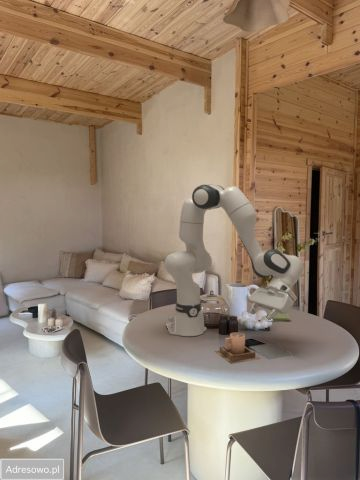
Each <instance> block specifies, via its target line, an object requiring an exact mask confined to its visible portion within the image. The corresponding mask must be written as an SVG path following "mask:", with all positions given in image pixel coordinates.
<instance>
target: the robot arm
mask: <svg viewBox="0 0 360 480" xmlns="http://www.w3.org/2000/svg"><path fill="white" fill-rule="evenodd" d="M219 208H222V209H223V210H224V211H225V213H226V215H227V216H228V218H229V220H230V222H231V223H232V225H233V227H234V229H235V230H236V233H237V235H238V237H239V240H240V241H241V243H242V245H243V247H244V249H245V251H246V253H247V255H248V257H249V260H250V263H251V268H252V271H253V273H254V274H255V275H256V276H257V277H259V278H262V279H268V278H271V276H272V278H271V280H270V282H269V283H268V284H267V285H266V286H265V285H262V286H260V287H257V288H256V289H255V290H254V291H253V292H252V294H250V295H249V297H248V301H249V302H250V303H251V308H250V310H249V313H250V314H251V315H255V313H256V312H257V311H256V310H257V308H258V307H260V308H263V309H266V310H269V311H272V312H271V313H270V314H267V316H266V318H267V319H268V320H271V319H272V317H274V316H276V315H277V314H278V313H281V314H284V315H285V314H288V313H289V312H290V311H291V309H292V307H293V306H294V302H296V300H297V299H298V297H297V296H296V294H295V293H294V292H293V287H294V285H296V283H297V282H298V281H299V279H300V277H301V276H302V273H303V272H304V268H305V267H304V262H303V261H302V259H300V258H299V257H298V256H297V255H294V254H293V255H292V254H290V255H289V254H286V253H283V252H282V251H280V250H279V249H275V248H270V249H268V250H266V251H263V250H262V247H261V246H260V244H259V242H258V240H257V238H256V235H255V234H256V233H255V228H256V224H257V219H258V216H257V213H256V211H255V208H254V207H253V205H252V203H251V202H250V200H249V199H248V198H247V196H246V194H244V193H243V191H242V190H241V189H240V188H239V187H238V186H235V185H232V186H228V187H227V188H224V187H223V186H221V185H217V184H214V183H213V184H212V183H210V184H201V185H198V186H197V187H196V188H195V189H194V190H193V192H192V194H191V197H190V198H189V197H188V198H186V199H185V200H184V201H183V203H182V207H181V212H180V218H179V230H178V231H179V232H178V237H179V240H180V241H181V242H183V243H184V244H185V250H183V251H175V252H172V253H170V254H168V255H166V257H165V260H164V262H163V263H164V269H165V270H166V271H165V272H167V274H169V276H171V278H172V279H173V280H174V283H175V286H176V302H175V308H174V309H175V310H174V311H173V312H172V313H171V314H170V316H169V317H168V322H166V323H165V326H167V327H166V328H168V329H167V330H168V333H169V335H172V336H174V335H175V336H180V337H181V336H182V337H195V336H200V335H202V334H204V332H206V331H207V327H206V326H205V319H204V317H205V316H204V313H203V312H202V303H201V286H200V285H199V284H198V283H197V282H195V281H194V278H193V274H194V275H195V274H199V273H203V272H205V271H207V270H209V269H210V268H211V266H212V263H213V262H212V261H213V260H212V256H211V254H210V253H209V252H208V251H207V250H206V246H205V244H204V224H205V223H204V222H205V221H204V220H205V215H206V214H205V213H207V211H209V210H211V211H212V210H214V209H219Z"/></svg>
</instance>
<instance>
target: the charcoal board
mask: <svg viewBox="0 0 360 480" xmlns="http://www.w3.org/2000/svg"><path fill="white" fill-rule="evenodd" d="M249 349H250V350H252V351H253V352H254V351H255V353H256V352H257V354H259V355H261V356H263V357H264V358H266V359H267V360H273V359H278V358H284V357H289V356H290V357H291V356H293V357H295V354H294V353H292V352H291V351H288V350H287V349H285V348H283V347H281V346H279V345H277V344H276V343H273V342H272V343H271V342H270V343H265V344H258V345H257V344H256V345H252V346H249Z"/></svg>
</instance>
